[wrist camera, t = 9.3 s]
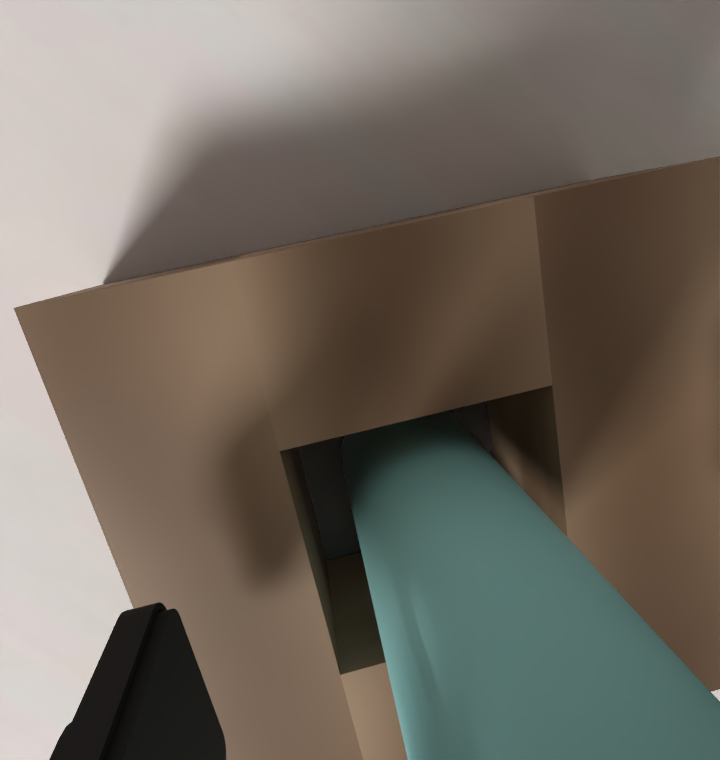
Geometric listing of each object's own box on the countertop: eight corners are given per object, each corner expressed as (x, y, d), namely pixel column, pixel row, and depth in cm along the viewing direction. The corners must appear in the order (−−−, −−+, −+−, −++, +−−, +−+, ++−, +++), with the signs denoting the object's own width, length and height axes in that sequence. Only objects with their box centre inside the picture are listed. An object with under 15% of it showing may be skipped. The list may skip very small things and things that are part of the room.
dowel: (454, 379, 14) (982, 835, 3) (472, 492, 15) (925, 1128, 4) (328, 409, 14) (460, 1003, 3) (355, 522, 15) (525, 1274, 4)
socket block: (591, 180, 13) (720, 156, 9) (619, 582, 16) (720, 688, 12) (100, 284, 12) (13, 308, 8) (239, 686, 15) (223, 834, 12)
